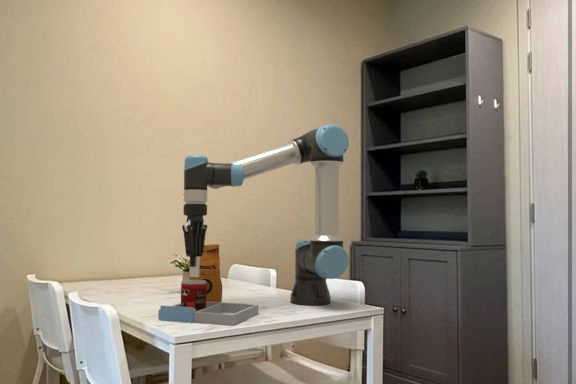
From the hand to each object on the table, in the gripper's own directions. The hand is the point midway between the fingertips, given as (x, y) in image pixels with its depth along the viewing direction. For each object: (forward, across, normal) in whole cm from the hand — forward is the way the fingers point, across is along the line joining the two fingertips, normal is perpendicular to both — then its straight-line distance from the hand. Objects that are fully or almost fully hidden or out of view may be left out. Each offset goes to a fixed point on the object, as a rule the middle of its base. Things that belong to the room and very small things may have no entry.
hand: (194, 276), depth 167 cm
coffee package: (+13, -18, -5) cm, 22 cm away
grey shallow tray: (+12, 0, +6) cm, 14 cm away
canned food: (+13, 0, 0) cm, 13 cm away
